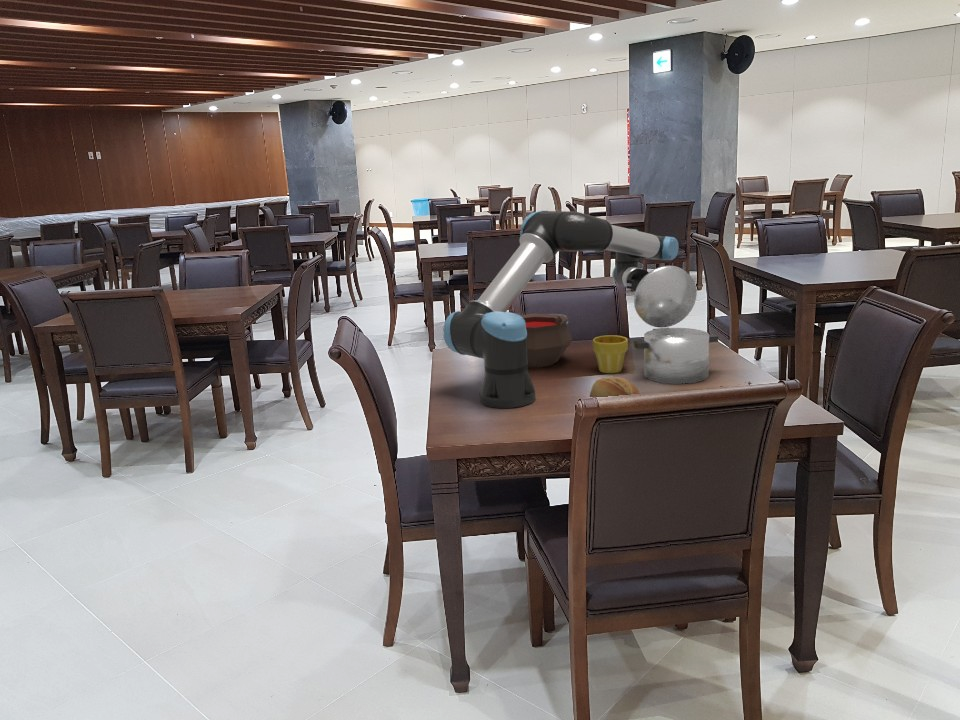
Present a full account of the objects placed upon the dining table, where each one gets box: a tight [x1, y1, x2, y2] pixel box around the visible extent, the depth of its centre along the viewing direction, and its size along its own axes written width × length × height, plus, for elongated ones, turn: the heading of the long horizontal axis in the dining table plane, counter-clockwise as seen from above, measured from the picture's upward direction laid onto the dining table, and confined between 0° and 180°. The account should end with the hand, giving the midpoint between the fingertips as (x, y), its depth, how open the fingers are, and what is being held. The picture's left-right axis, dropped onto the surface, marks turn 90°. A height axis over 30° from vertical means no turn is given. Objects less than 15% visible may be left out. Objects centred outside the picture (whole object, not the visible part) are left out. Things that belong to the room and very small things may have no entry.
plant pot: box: [592, 334, 629, 374], centre depth 219 cm, size 10×10×10 cm
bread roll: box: [589, 376, 641, 398], centre depth 186 cm, size 10×15×8 cm, turn 40°
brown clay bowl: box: [508, 308, 574, 369], centre depth 233 cm, size 24×24×16 cm
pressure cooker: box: [633, 327, 719, 385], centre depth 211 cm, size 24×21×12 cm
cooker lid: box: [633, 265, 698, 328], centre depth 215 cm, size 19×19×4 cm
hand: (665, 290), depth 217 cm, fingers closed
